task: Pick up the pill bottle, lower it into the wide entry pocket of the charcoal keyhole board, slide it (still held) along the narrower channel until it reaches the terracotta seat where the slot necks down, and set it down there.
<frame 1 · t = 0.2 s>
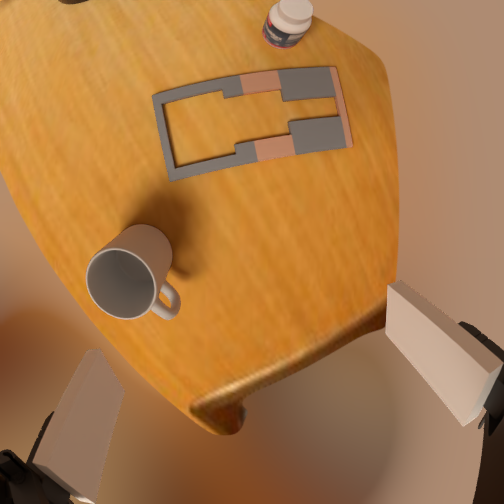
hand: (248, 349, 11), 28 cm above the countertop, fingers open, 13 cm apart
pill bottle: (280, 35, 30), on the countertop
keyhole board: (255, 116, 34), on the countertop
mug: (152, 261, 38), on the countertop
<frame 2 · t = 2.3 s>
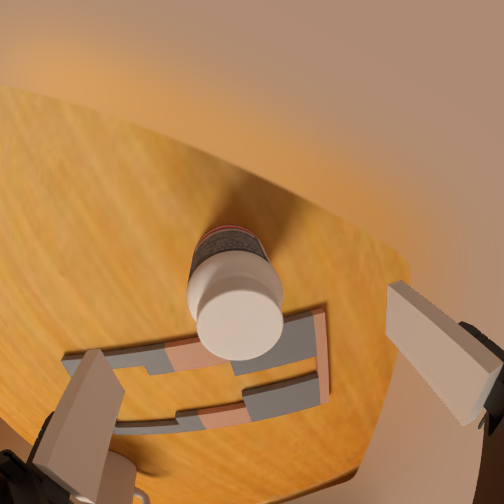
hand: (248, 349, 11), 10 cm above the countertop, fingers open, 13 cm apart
pill bottle: (229, 258, 21), on the countertop
keyhole board: (197, 388, 24), on the countertop
mug: (119, 465, 29), on the countertop
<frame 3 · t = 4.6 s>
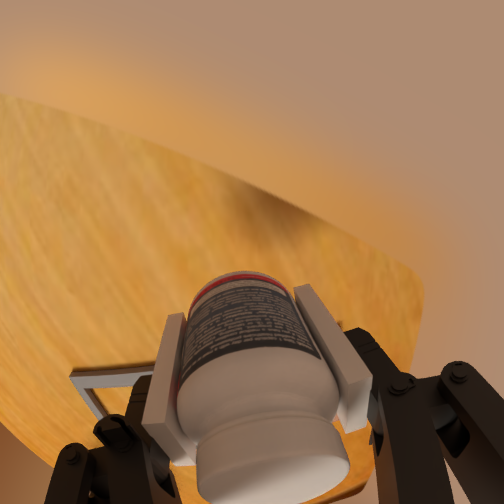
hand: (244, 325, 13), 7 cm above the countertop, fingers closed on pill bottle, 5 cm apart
pill bottle: (242, 317, 14), point 7 cm above the countertop, touching gripper
keyhole board: (208, 406, 24), on the countertop
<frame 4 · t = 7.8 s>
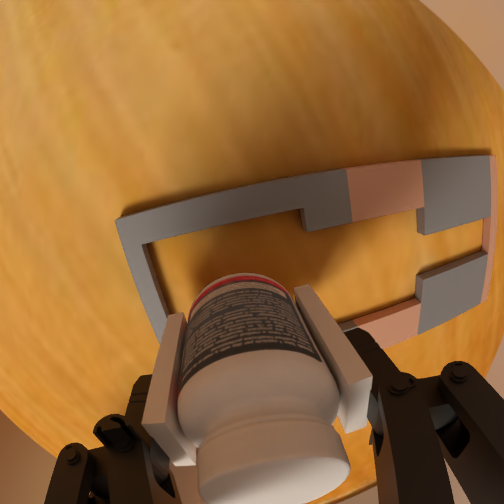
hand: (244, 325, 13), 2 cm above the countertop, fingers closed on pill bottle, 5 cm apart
pill bottle: (242, 318, 14), point 2 cm above the countertop, touching gripper
keyhole board: (365, 269, 16), on the countertop
mug: (169, 460, 20), on the countertop
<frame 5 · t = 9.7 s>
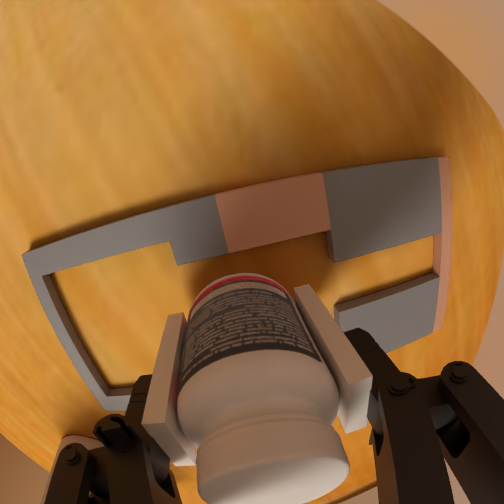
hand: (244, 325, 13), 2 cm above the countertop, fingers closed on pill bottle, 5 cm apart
pill bottle: (242, 318, 14), point 1 cm above the countertop, touching gripper
keyhole board: (261, 301, 15), on the countertop
mug: (115, 464, 20), on the countertop
when the fingers open (1 cm above the countertop, at t = 11.1 s): pill bottle drops 1 cm, resting in keyhole board.
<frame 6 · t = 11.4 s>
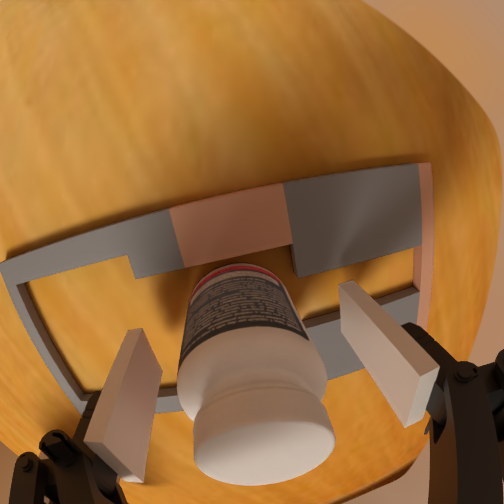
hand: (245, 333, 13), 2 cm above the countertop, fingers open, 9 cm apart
pill bottle: (239, 307, 15), resting in keyhole board
keyhole board: (222, 315, 14), on the countertop
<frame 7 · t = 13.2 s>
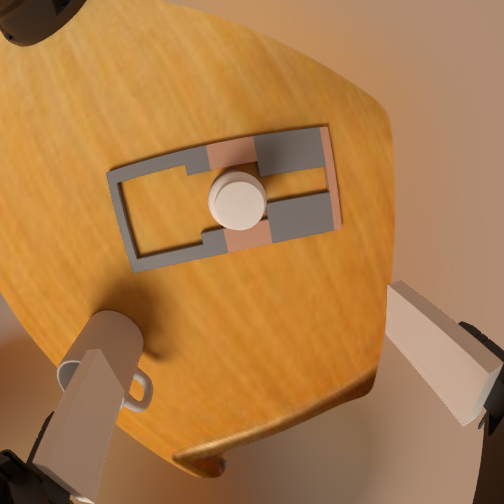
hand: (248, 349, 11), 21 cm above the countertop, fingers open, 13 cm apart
pill bottle: (234, 194, 31), resting in keyhole board
keyhole board: (226, 197, 31), on the countertop
mug: (125, 343, 35), on the countertop
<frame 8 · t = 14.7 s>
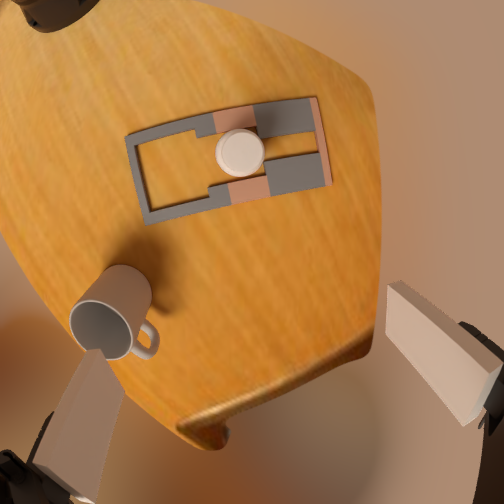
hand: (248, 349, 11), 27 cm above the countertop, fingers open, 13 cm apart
pill bottle: (236, 154, 34), resting in keyhole board
keyhole board: (229, 156, 34), on the countertop
mug: (134, 298, 39), on the countertop
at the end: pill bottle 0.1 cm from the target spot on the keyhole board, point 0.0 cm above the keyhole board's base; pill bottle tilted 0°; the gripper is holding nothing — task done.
